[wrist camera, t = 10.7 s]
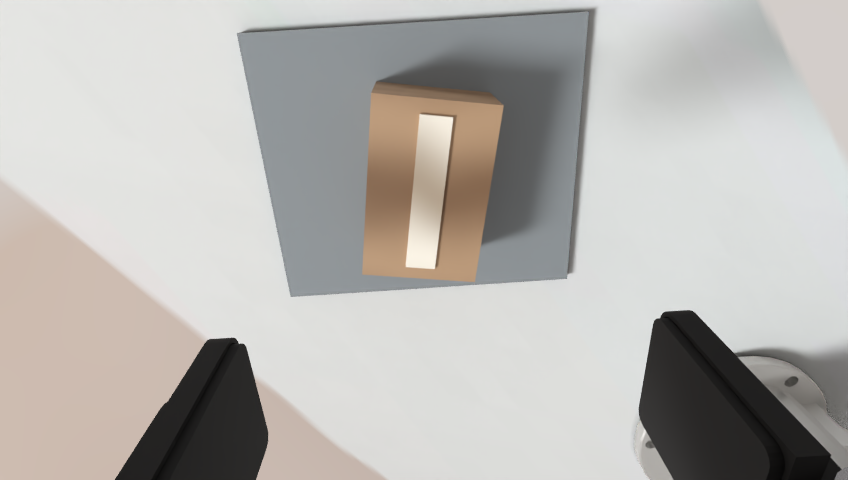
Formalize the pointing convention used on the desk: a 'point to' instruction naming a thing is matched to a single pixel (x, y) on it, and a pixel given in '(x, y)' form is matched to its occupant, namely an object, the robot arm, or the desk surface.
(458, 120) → the card box
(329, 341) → the desk surface
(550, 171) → the slate mat
